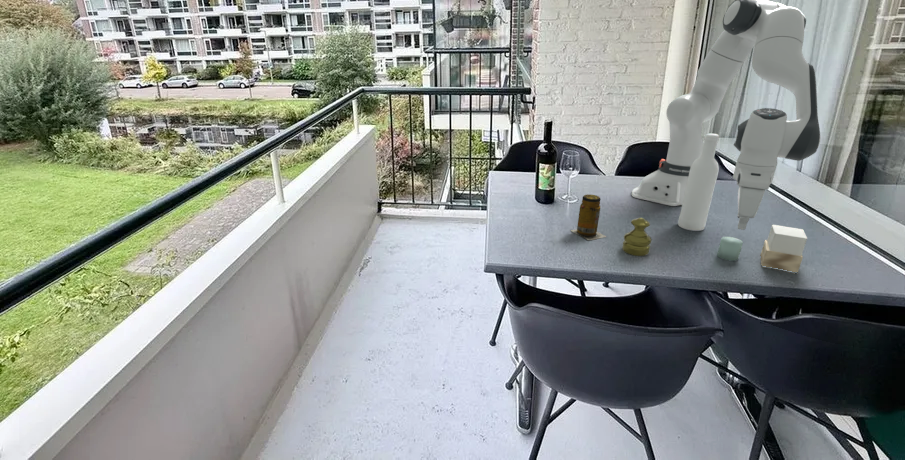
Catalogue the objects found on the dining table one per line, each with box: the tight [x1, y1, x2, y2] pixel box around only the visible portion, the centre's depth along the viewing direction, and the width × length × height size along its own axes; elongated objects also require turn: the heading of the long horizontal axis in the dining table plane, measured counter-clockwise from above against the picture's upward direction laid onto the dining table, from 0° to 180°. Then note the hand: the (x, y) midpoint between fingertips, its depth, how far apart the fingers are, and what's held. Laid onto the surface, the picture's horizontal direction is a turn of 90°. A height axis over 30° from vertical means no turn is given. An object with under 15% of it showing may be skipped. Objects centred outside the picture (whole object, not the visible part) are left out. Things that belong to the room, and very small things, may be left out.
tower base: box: [760, 239, 804, 273], centre depth 124 cm, size 8×8×5 cm
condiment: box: [569, 194, 607, 241], centre depth 140 cm, size 7×8×12 cm
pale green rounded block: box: [716, 236, 744, 262], centre depth 128 cm, size 5×5×5 cm
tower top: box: [766, 224, 808, 256], centre depth 122 cm, size 7×7×5 cm
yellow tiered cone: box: [621, 217, 653, 257], centre depth 129 cm, size 7×7×10 cm
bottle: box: [677, 132, 720, 232], centre depth 143 cm, size 8×8×30 cm
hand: (740, 223), depth 124 cm, fingers open, 8 cm apart
